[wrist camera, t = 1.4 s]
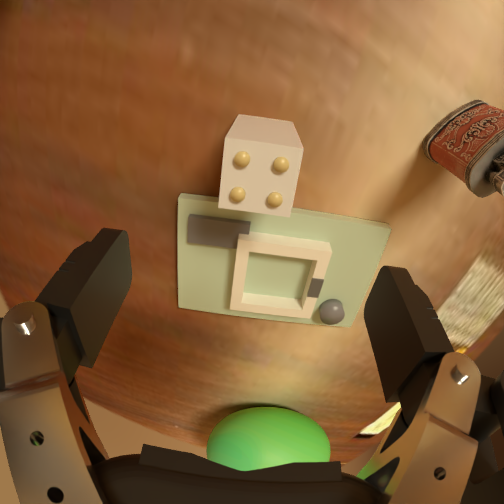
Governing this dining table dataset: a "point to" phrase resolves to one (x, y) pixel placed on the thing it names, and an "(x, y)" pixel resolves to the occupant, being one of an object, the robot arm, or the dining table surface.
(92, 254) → the robot arm
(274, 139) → the plug
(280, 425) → the toy bird
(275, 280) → the board
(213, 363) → the dining table surface
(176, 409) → the dining table surface
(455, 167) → the lighter
